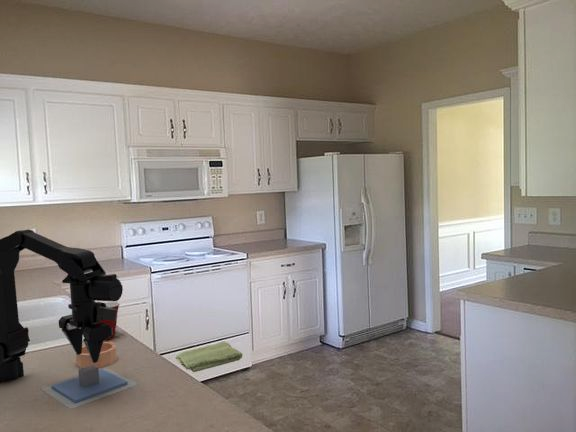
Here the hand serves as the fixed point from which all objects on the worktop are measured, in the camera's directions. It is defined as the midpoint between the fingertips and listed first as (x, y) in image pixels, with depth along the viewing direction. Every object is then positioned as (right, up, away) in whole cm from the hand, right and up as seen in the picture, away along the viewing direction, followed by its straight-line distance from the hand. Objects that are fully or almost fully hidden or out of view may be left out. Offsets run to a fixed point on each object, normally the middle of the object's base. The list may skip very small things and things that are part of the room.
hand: (87, 358), depth 134 cm
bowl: (-4, -7, +19) cm, 21 cm away
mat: (0, -9, +1) cm, 9 cm away
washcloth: (+29, -7, +19) cm, 35 cm away
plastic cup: (-11, -5, +44) cm, 46 cm away
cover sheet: (0, -8, +1) cm, 8 cm away
